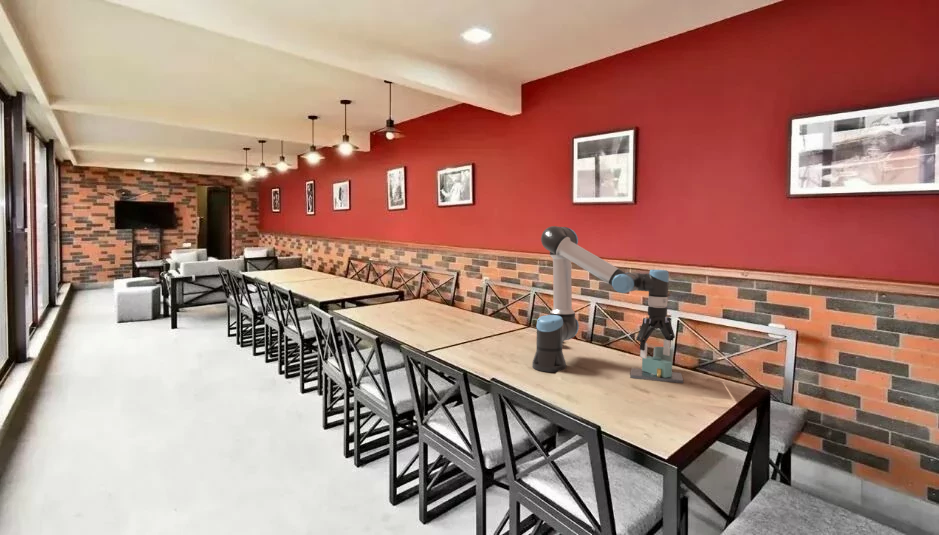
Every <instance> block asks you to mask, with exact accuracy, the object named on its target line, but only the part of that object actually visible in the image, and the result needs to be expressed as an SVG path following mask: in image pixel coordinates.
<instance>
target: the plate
mask: <svg viewBox="0 0 939 535" xmlns="http://www.w3.org/2000/svg"><path fill="white" fill-rule="evenodd" d="M661 373H662V369H660V368H657V375H654V374H651V373H648V372H645V371H642V368H634V367H631V368H630V374H629V375H630V376H629V378H630V379H638V380H646V381H647V380H649V381H650V380H651V381H657V382H668V383H677V384H684V378H683V375H682V373H681V372H675V371H672V377H667V378H664V377H661Z"/></svg>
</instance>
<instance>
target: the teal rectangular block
mask: <svg viewBox="0 0 939 535" xmlns="http://www.w3.org/2000/svg"><path fill="white" fill-rule="evenodd" d="M641 358H642V357H641ZM641 361H642V362H641V363H642V364H641V369H642V371H645V372H648V373H651V374H654V375H657V368H660V369H662V373H661V377H664V378H667V377H672V372H673V361H672V362H669V361H666V360H662V359H661V357H658V356H651V355H647V358H646V359H645V358H642V360H641Z"/></svg>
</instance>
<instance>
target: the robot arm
mask: <svg viewBox="0 0 939 535" xmlns="http://www.w3.org/2000/svg"><path fill="white" fill-rule="evenodd" d="M540 242H541V246H543V248H544V249H545V250H547V251H549V256H550V257H551V258H552V276H553V277H552V279H553V280H552V284H553V285H552V287H553V290H552V291H553V294H552V295H553V307H552V308H553V309H552V310H550V311H549V313H550V314H547V315H545V314H544V315H541V316H539V317H538V318H537V320H536V348H535V349H536V351H535V354H534V357H533V359H532V364H531V365H532V369H534V370H537V371H540V372H545V373H546V372H549V373H557V372H560V371H565V370H566V369H567V363H566V360H565V356H564V353H563V344H564V341H569V340H571V339H573V338H574V337H576V335H577V334H578V332H579V329H580V324H579V320H578V319H577V318H576V312H575V311H574V310H573V309H572V308H573V305H572V303H573V302H572V298H573V297H572V293H573V292H572V290H573V289H572V284H573V282H572V263H573V264H575V265H577V266H578V267H580V268H581V269H583V270H585V271H587V272H588V273H590V274H592V276H595V277H597V278H598V279H599V280H602V281H603V282H605V283H606V284H608V285H610V286H611V287H612V288H613V289H614V291H615V292H617V293H622V294H625V293H630V292H634V291H636V292H648V298H647V301H648V302H647V305H648V307H647V316H648V318H646V317H643V319H642V324H641V326H640V328H639V331H638V334H637V336H636V341H638V342H639V349H640V354H639V357H640V358H645V359H646V358H647V356H648V342H647V341H648V339H649V338H650V336H651V335H652V333H653V332H654V331H655V330H657V329H659V330H660V332H661V334H662V335H663V337H664V339H663V346H662V347H663V355H667V356H670V348H671V346H672V345H671V344H672V342H673V341H674V339H675V336H676V335H675V333H674V329H673V326H672V322H671V321H672V320H671V317H669V316H667V315H668V308H667V307H668V298H669V283H670V280H669V278H670V277H669V276H670V275H669V271H668V270H665V269H650V270H649V272H648V273H640V272H639V273H638V272H625V271H624V270H621V269H620V268H619V267H617V266H615V265H613V264H612V263H610V262H608V261H606V260H604V259H603V258H601V257H599V256H597V255H596V254H594V253H592V252H591V251H588V250H587V249H585V248H584V247H582V246H580V245H578V243H579V237H578V235H577V233H576V232H575V230H573V229H572V228H569V227H566V226H557V225H556V226H555V225H552V226H548V227H546V228H545V229H544V230H543V231H542V233H541V237H540Z"/></svg>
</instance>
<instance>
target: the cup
mask: <svg viewBox="0 0 939 535" xmlns="http://www.w3.org/2000/svg"><path fill="white" fill-rule="evenodd" d="M673 350H674V349H673V348H671V347H670V356H667V355H663V346H655V347H653V356H658V357H661V359H662V360H666V361H669V362H672V363H673V360H674V359H673V356H674V354H673V353H674V351H673ZM653 356H652V357H653Z"/></svg>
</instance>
